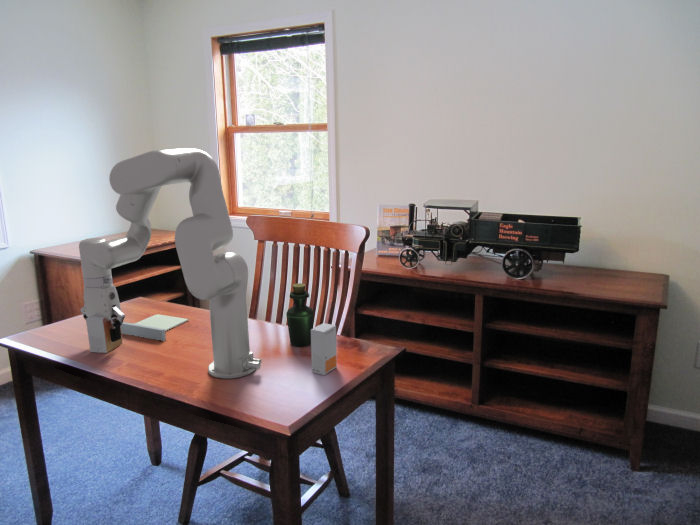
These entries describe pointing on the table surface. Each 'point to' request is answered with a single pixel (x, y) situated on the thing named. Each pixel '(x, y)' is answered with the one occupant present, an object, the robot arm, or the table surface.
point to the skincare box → (323, 348)
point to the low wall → (143, 331)
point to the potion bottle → (300, 317)
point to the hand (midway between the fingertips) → (105, 337)
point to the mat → (162, 321)
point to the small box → (100, 335)
